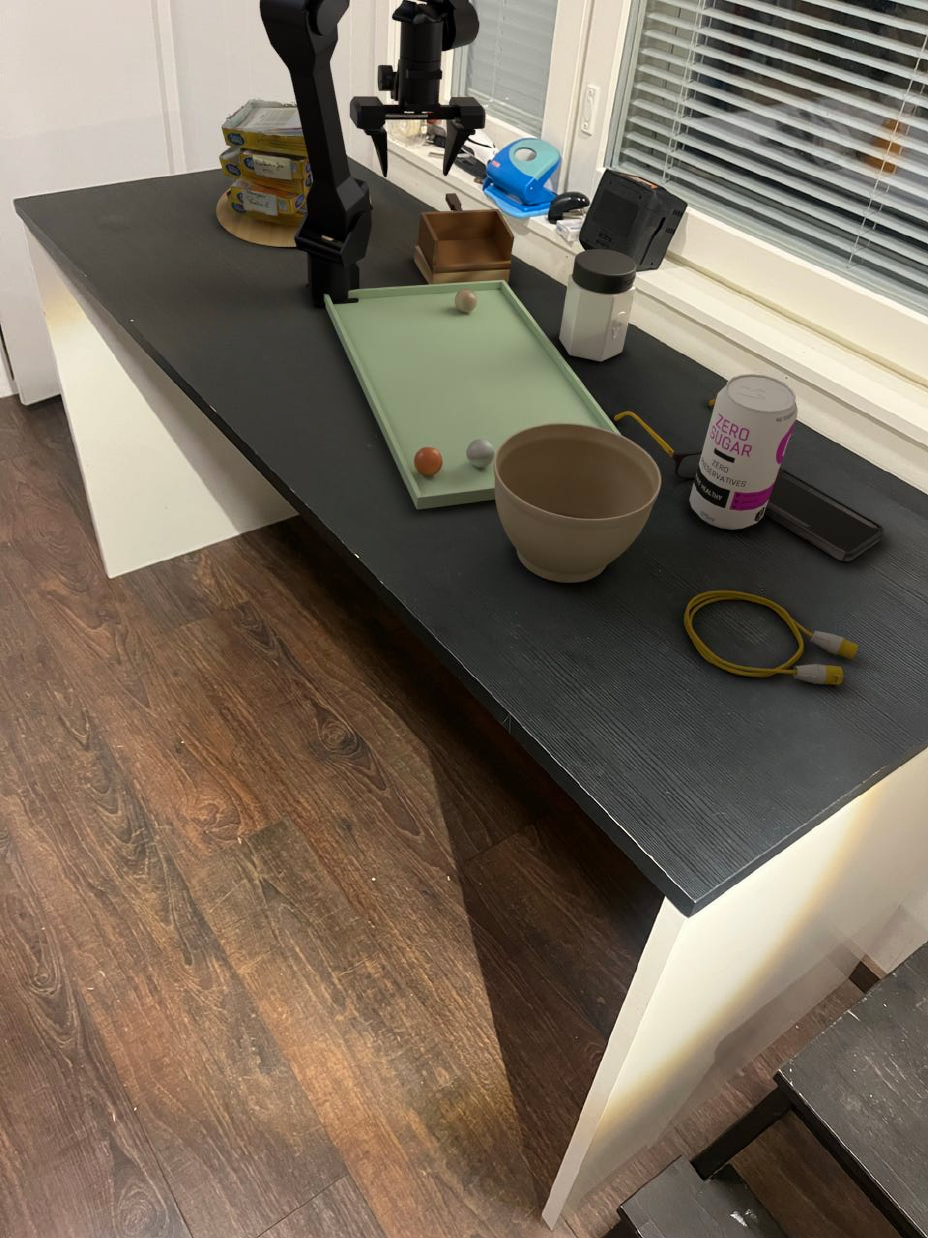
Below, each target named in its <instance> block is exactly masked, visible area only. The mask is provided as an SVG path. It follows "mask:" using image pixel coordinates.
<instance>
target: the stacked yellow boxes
mask: <svg viewBox="0 0 928 1238" xmlns="http://www.w3.org/2000/svg"><path fill="white" fill-rule="evenodd" d="M225 119H226V120H225V121H224V123H223V124H221V132H222V135H223V139H224V143H225V145H226V147H227V146H228V147H227V149H225V150H224V151H222V152H221V153H220V155H219V156H218V159H219V163H220V166H221V170H222V174H223V175H224V176H227V177H230V178H234V179H235V180H234V181H233V182H232V184H230V187H229V188H228V189H226V191H224V193H223V194H222V195H221V196H220V198H219V200H218V201H217V204H216V209H215V213H216V214H215V215H216V218H217V221H218V222H219V224H220V225H221V226H222V227H223V228H224V229H225V230H226V231H227V232H228V233H229V234H230V235H231V234H232V235H233V236H235V237H236V238H239V239H241V240H244V241H246V242H250V243H254V244H258V245H263V246H269V247H278V248H282V247H283V248H287V247H288V248H290V247H291V248H293V247H296V244H295V241H294V236H295V234H296V232H297V230H298V228H299V226H300V224H301V222H302V220H303V218H304V215H305V213H306V211H307V203H306V196H307V194H308V191H309V189H310V186H311V184H312V182H313V178H312V173H311V168H310V164H309V159H308V154H307V150H306V145H305V141H304V136H303V132H302V127H301V122H300V118H299V113H298V109H297V104H296V101H291V103H287V102H286V103H283V102H281V101H275V100H273V101H271V100H266V101H265V100H263V99H260V97H258V98H254V99H253V98H252V99H248V100H247V102H246V103H244V105H241V106H240V107H239V109H237V110H236V111H235V112H233V113H232V115H228V117H226V118H225ZM369 196H370V202H371V203H372V198H371V195H370V194H369ZM322 238H325V239H328V240H331V241H333V240H335V239H332V238H329V237H326V236H324V235H322ZM296 248H297V247H296Z"/></svg>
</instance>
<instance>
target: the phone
mask: <svg viewBox="0 0 928 1238" xmlns="http://www.w3.org/2000/svg"><path fill="white" fill-rule="evenodd" d="M764 515H765V516H767V517H768V518H770V519H771V520H772V521H774V522H776V523H778V524H780V525H782V527H784V528H786V529H787V530H789V531H791V532H792V533H794V534H796V535H797V536H799V537H800V538H802V539H804V540H805V541H807V542H809V544H812V545H813V546H815V547H817V548H818V549H820V550H822V552H825V553H827V554H828V555H830V556H831V557H833V558H835V559H836V560H838V561H840V562H846V563H848V562H852V561H854V560H855V559H857V558H858V557H859V556H861V555H862V554H863V553H865V552H866V551H868V550H870V549H871V548H873V546H875V545H876V544H878V543H880V542H881V540H882V538H883V535H884V534H885V529H884V527H883V526H882V525H880V524H879V523H877V522H876V521H873V520H872V519H870V518H869V517H867V516H865V515H863V514H862V513H860V512H858V511H856V510H855V509H853V508H852V507H849V506H848V505H846V504H844V503H843V502H841V501H839V500H837V499H836V498H834V497H833V496H830V495H829V494H827V493H825V492H824V491H822V490H820V489H819V488H817V487H815V486H814V485H812V484H810V483H808V482H807V481H805V480H803V479H801V478H800V477H798V476H796V475H795V474H792V473H791V472H789V471H787V470H786V469H784V468H782V467H780V468H779V471H778V474H777V477H776V480H775V483H774V485H773V488H772V491H771V494H770V497H769V500H768V503H767V506H766V509H765V512H764Z"/></svg>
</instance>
